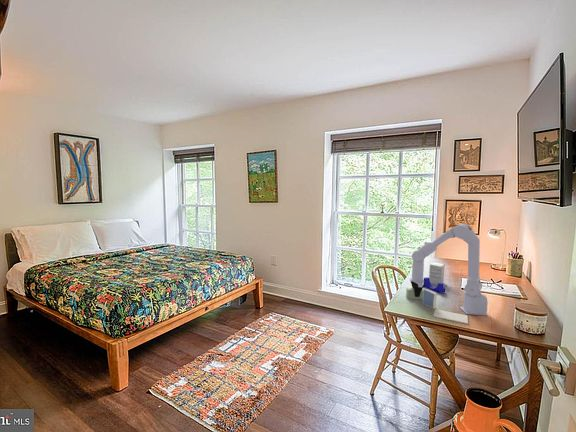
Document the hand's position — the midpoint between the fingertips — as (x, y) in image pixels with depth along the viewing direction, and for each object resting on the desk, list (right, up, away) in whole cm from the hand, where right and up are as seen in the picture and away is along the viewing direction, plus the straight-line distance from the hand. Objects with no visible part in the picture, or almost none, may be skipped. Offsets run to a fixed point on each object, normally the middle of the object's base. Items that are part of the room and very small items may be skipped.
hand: (416, 295), depth 162 cm
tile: (+2, -3, -10) cm, 11 cm away
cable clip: (+17, -1, +14) cm, 22 cm away
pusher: (0, -1, 0) cm, 1 cm away
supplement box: (+24, +1, +25) cm, 35 cm away
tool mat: (+6, -4, -23) cm, 24 cm away
